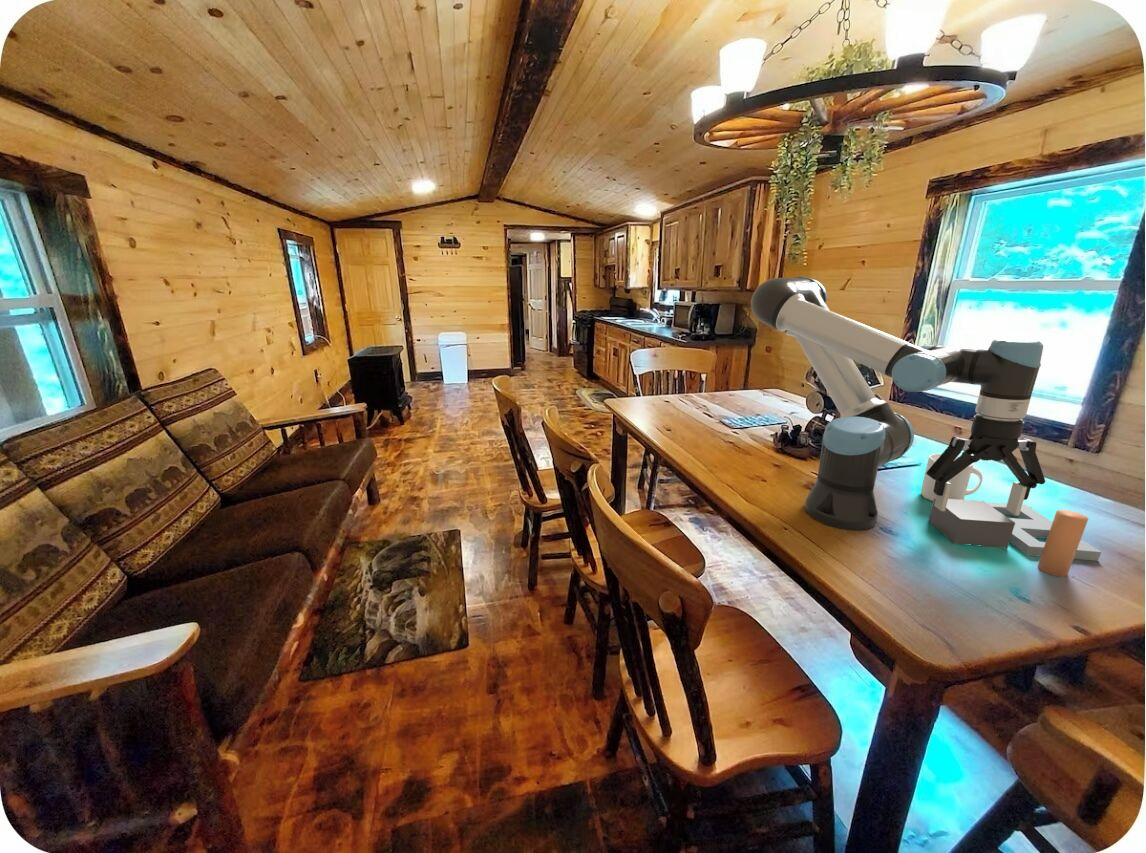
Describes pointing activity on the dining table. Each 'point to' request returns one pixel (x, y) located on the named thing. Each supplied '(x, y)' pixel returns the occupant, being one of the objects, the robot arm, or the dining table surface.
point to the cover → (972, 523)
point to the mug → (957, 482)
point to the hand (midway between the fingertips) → (975, 510)
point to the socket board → (1038, 533)
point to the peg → (1062, 542)
